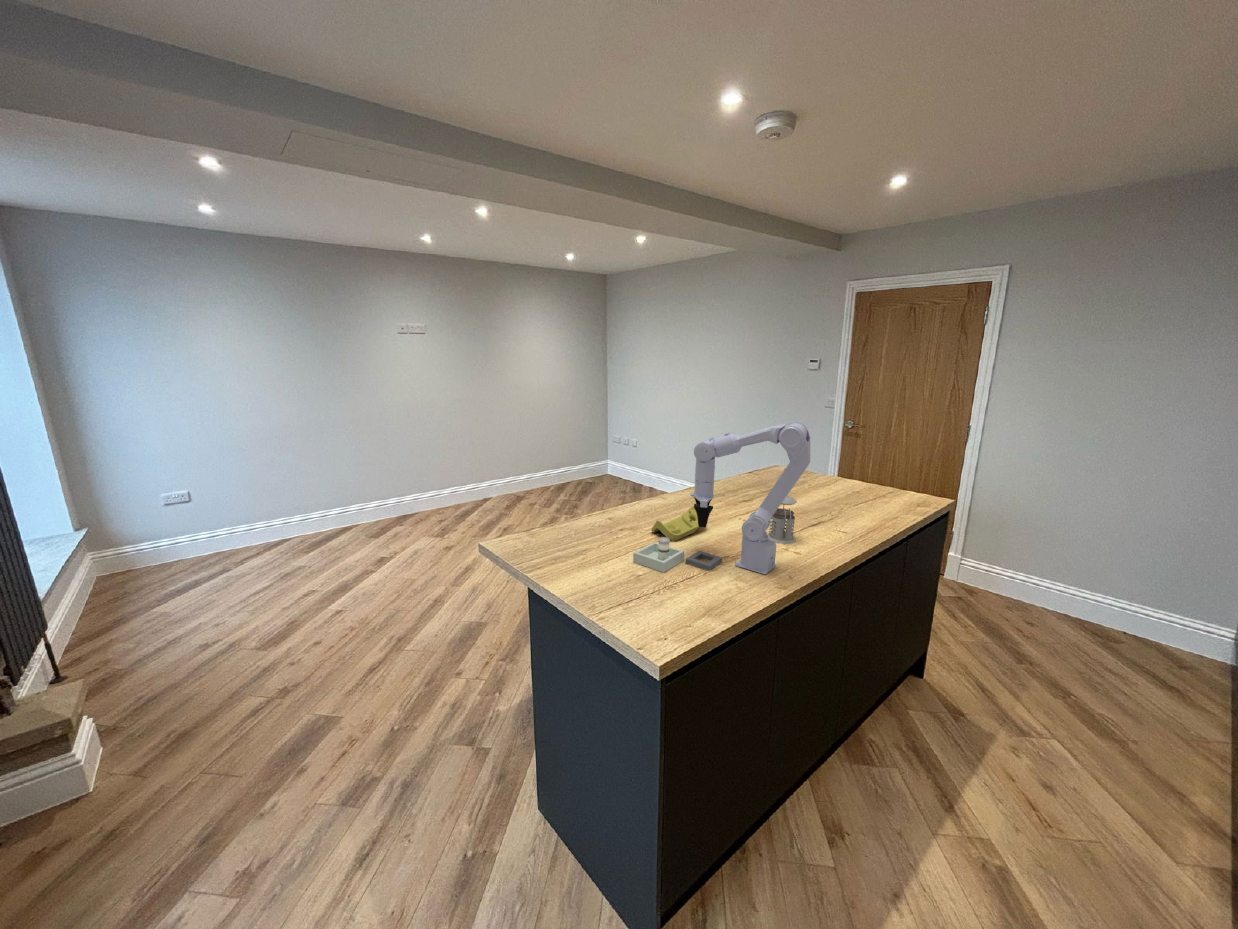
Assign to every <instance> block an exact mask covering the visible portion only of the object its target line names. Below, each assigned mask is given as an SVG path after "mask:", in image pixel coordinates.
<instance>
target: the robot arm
mask: <svg viewBox="0 0 1238 929" xmlns="http://www.w3.org/2000/svg"><path fill="white" fill-rule="evenodd" d="M787 424H788V425H787ZM811 438H812V437H811V435H810V433H809V429H808V427H807V426H806V425H805V424H804V423H802V422H798V421H793V422H791V423H782V424H777V425H773V426H769V427H766V428H761V429H760V430H759V429H758V430H755V431H752V432H749V433H746V434H743V435H738V434H736V433H730V432H726V433H724V434H723V436H718V437H716V438H715V437H713V436H712V437H710V438H709V439H707V440H704V441H702V442H699V443H698V444H696V446H695V447H694V449H693V455H694V457H695V471H694V473H695V474H694V492H690V497H693V498H694V501H695V503H694V504H693V506H694V508H695V510H696V513H697V518H698V525H699V527H700V528H707V525H708V522H709V521H708V520H709V518H710V514H711V513H712V511H713V509H714V506H713V505H710V503H711V502H712V500H713V499H714V497H715V494H714V487H715V470H716V466H715V464H716V458H721V457H722V458H723V457H726V456H730V455H733V454H737V453H739V452H740V451H741V449H742V447H747V446H751V445H756V444H759V443H764V442H771V443H773V444H775V445H778V444H779V443H780V445H781V447H782V448H783V449H784V451H786V454H787V457H788V459H789V463H788V464H787V466H786V467H785V468H786V469H785V468H784V469H785V470H784V469H783V471H782V472H781V474H780V476H779V477H778V479H777V480H776V482H775V483H774V485H773V486H772V488H770V491H769V492H768V494H766V496H765V498H764V499H763V500H762V502H761V503H760V505H759V506H758V508H757V509H756V511H753V512H752V513H750V515H749V516H748V518H747V519H746V520H745V521H744V522H743V523H742V524H741V533H742V537H741V548H740V549H741V550H740V551H741V552H740V559H739V560H738V561H736V562H735V564H734V566H736V567H739V568H743V569H745V570H749V571H753V572H756V573H759V574H762V575H766V574H768V573H769V572H771V570H773V569H774V568H775V567H776V554H777V543H775V542H773V541H771V540H769V539H768V536H767V535H768V533H767V530H768V529H769V528H770V524H771V523H770V521H771V520H772V519H771V517H772V516H773V515H774V513H775V512H776V510H777V509H778V508H779V509H780V506H781V503H782V502H783V501H784V499H785V498H786V496H789V493H790V492H791V491H792V489H793V488H794V487H795V485H797V482H798V481H799V479H800V478H801V477H802V476H803V473H804V472H805V471H806V469H807V468H808V467H809V465H810V463H811V440H812V439H811Z"/></svg>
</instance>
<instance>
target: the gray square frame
mask: <svg viewBox="0 0 1238 929" xmlns="http://www.w3.org/2000/svg"><path fill="white" fill-rule="evenodd" d="M700 559H702V560H703V561H702V560H700ZM704 560H705V561H704ZM706 561H707V562H706ZM721 563H723V557H721V556H718V555H715V554H713V553H709V552H706V551H702V550H698V551H696V552H693V554H691V555H689V556H688V557H686V558H685V564H686V565H689V566H692V567H696V568H699V569H702V570H705V571H708V572H710V571H712V570H713V569H714V568H716V567H718V565H720V564H721Z"/></svg>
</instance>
